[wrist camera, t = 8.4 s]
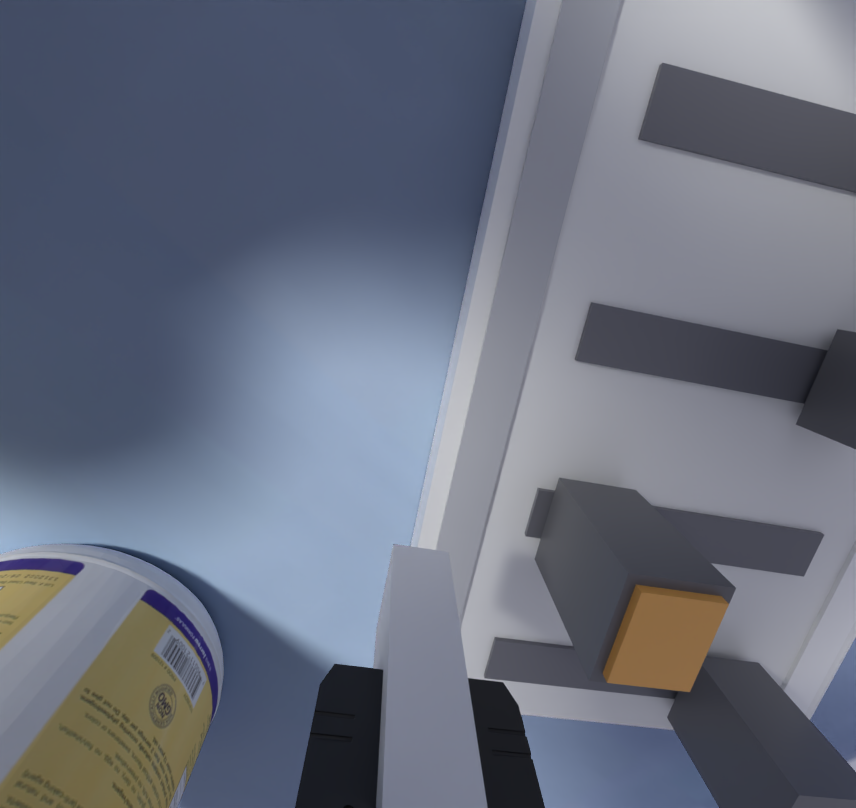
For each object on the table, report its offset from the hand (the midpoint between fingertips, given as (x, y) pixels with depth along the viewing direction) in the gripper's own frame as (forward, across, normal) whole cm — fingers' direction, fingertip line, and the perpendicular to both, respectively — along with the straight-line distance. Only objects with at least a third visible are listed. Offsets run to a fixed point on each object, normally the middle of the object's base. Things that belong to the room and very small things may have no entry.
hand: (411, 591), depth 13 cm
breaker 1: (+5, +7, 0) cm, 8 cm away
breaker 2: (+5, +15, -7) cm, 17 cm away
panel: (+7, +11, +4) cm, 14 cm away
